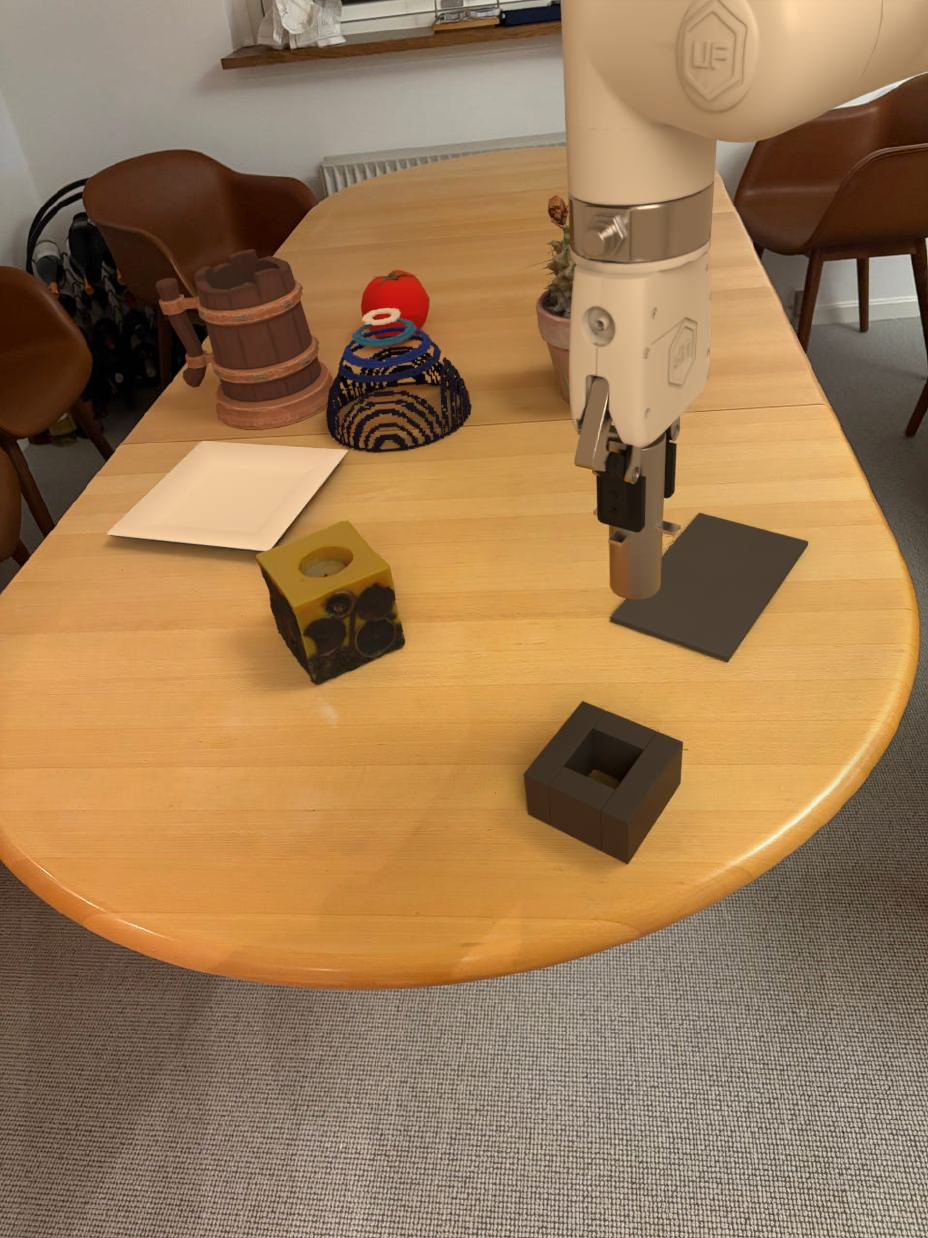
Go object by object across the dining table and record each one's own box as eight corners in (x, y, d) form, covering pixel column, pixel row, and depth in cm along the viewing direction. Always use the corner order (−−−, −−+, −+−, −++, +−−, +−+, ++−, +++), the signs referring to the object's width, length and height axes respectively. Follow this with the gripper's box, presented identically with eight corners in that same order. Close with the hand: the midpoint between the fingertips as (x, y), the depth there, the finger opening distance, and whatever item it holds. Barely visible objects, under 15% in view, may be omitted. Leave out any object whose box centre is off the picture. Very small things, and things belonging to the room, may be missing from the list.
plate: (110, 546, 106) (104, 532, 105) (205, 452, 122) (201, 439, 121) (273, 564, 100) (268, 549, 98) (351, 462, 115) (348, 448, 114)
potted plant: (663, 429, 112) (670, 224, 96) (517, 419, 119) (501, 226, 103) (687, 367, 125) (697, 176, 109) (554, 361, 131) (544, 180, 115)
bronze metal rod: (692, 572, 63) (701, 422, 56) (655, 621, 60) (659, 468, 52) (617, 551, 66) (616, 405, 59) (577, 596, 63) (571, 447, 55)
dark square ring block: (680, 783, 70) (683, 741, 67) (627, 865, 65) (628, 824, 62) (584, 741, 74) (582, 700, 71) (527, 814, 69) (522, 773, 66)
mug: (214, 377, 142) (173, 249, 129) (350, 368, 138) (321, 236, 125) (171, 433, 128) (120, 297, 115) (321, 426, 124) (286, 284, 111)
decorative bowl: (474, 378, 130) (463, 280, 121) (466, 445, 115) (452, 339, 106) (343, 388, 133) (322, 293, 123) (318, 456, 117) (291, 353, 108)
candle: (277, 633, 90) (250, 554, 84) (365, 594, 93) (346, 516, 87) (314, 690, 83) (288, 608, 77) (409, 646, 86) (391, 565, 80)
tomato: (355, 351, 143) (342, 288, 136) (382, 320, 152) (371, 259, 145) (419, 352, 139) (409, 288, 133) (443, 320, 148) (435, 258, 142)
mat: (807, 545, 91) (808, 540, 90) (728, 662, 79) (728, 657, 79) (698, 516, 97) (699, 512, 97) (609, 621, 85) (609, 616, 85)
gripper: (632, 284, 40) (630, 594, 52) (765, 180, 50) (738, 461, 62) (496, 268, 44) (523, 561, 56) (645, 174, 54) (641, 440, 66)
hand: (636, 506), depth 59 cm, fingers closed on bronze metal rod, 3 cm apart
